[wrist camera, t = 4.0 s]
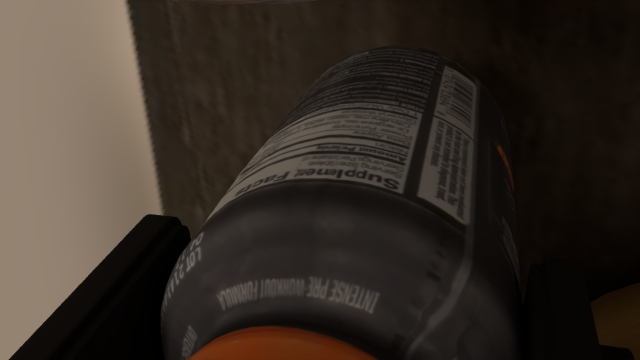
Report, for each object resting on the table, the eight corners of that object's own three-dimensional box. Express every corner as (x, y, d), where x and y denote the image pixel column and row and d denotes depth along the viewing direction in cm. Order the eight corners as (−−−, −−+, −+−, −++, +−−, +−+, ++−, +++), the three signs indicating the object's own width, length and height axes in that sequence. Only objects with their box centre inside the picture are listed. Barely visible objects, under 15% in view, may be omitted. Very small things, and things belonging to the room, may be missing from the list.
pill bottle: (464, 264, 18) (429, 733, 9) (277, 199, 19) (46, 568, 9) (550, 82, 15) (647, 489, 5) (324, 10, 16) (49, 265, 6)
